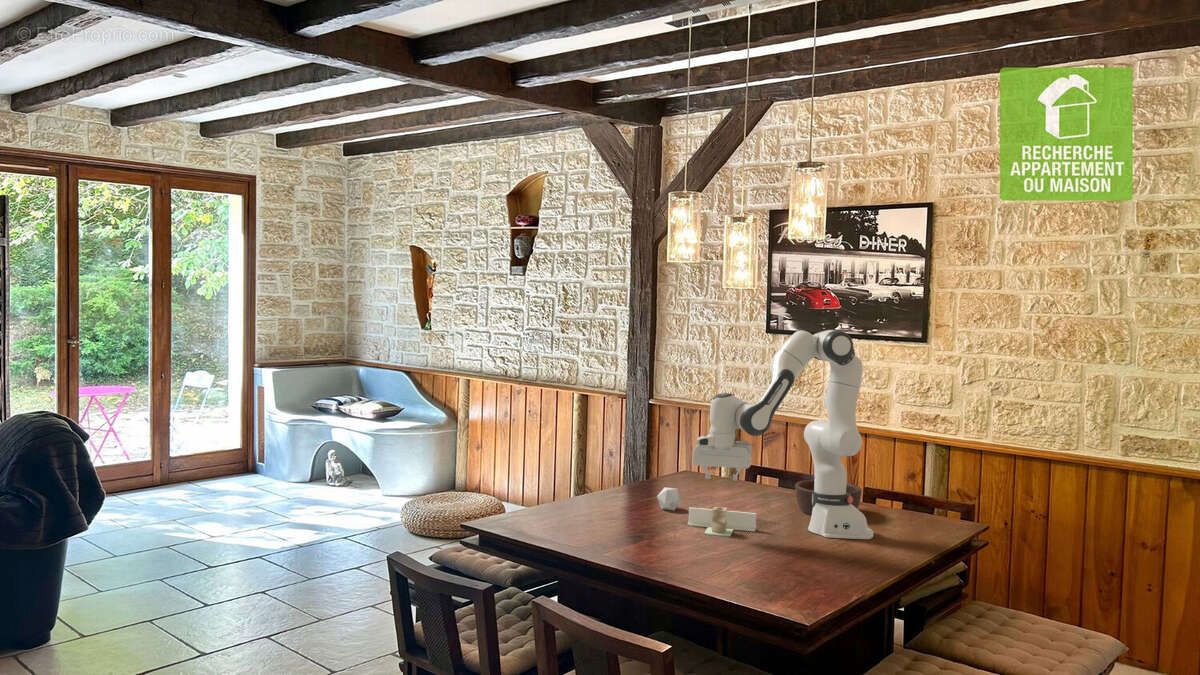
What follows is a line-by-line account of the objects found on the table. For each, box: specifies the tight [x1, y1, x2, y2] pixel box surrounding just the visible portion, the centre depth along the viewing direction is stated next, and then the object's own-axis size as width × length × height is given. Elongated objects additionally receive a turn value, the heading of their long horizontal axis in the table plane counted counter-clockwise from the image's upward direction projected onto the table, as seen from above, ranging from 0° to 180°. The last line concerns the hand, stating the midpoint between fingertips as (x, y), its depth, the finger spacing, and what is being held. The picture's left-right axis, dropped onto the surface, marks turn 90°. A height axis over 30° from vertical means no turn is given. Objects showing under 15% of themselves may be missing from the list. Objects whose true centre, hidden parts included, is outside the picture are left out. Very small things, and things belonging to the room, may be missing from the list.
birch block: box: [712, 506, 728, 533], centre depth 317 cm, size 4×4×8 cm
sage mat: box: [703, 527, 734, 538], centre depth 317 cm, size 9×9×1 cm
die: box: [656, 486, 682, 511], centre depth 349 cm, size 8×9×10 cm
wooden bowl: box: [794, 479, 862, 516], centre depth 351 cm, size 25×25×10 cm
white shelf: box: [687, 506, 757, 532], centre depth 324 cm, size 24×4×6 cm, turn 75°
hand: (721, 479), depth 316 cm, fingers open, 8 cm apart
